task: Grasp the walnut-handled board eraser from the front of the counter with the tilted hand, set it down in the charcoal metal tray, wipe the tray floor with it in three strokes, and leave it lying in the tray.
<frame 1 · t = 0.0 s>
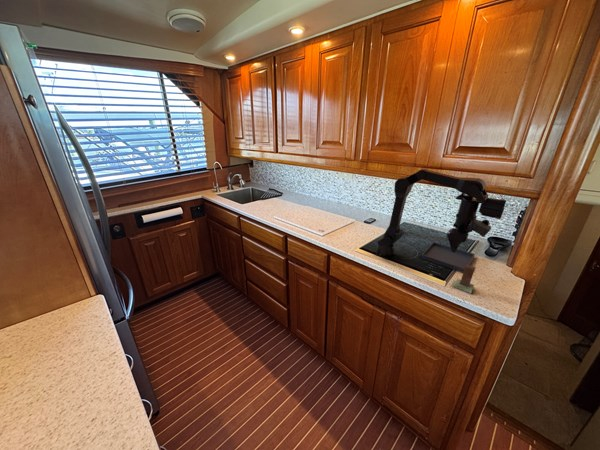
hand: (456, 248, 96), 15 cm above the countertop, tool pointing down, fingers open, 9 cm apart
tray: (447, 257, 118), on the countertop
eraser: (463, 287, 96), on the countertop
cork: (393, 232, 145), on the countertop
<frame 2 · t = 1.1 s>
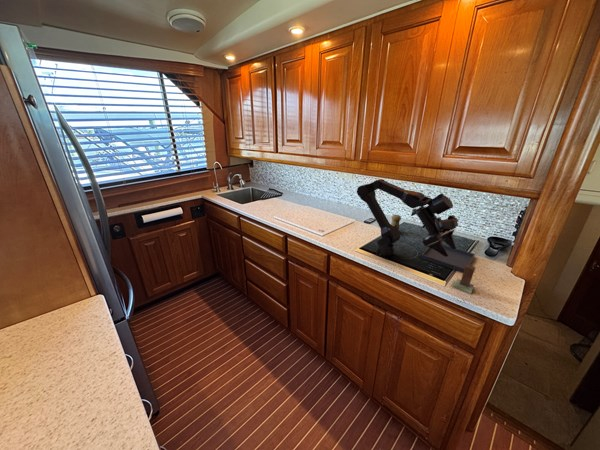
hand: (451, 252, 96), 13 cm above the countertop, tool tilted 45°, fingers open, 9 cm apart
nothing on the countertop moved.
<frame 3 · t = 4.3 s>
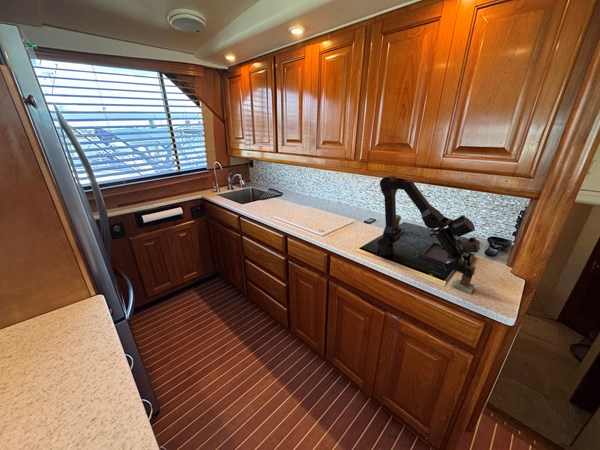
hand: (472, 276, 93), 7 cm above the countertop, tool tilted 45°, fingers closed on eraser, 3 cm apart
eraser: (463, 287, 96), on the countertop, touching gripper
everything else where it was.
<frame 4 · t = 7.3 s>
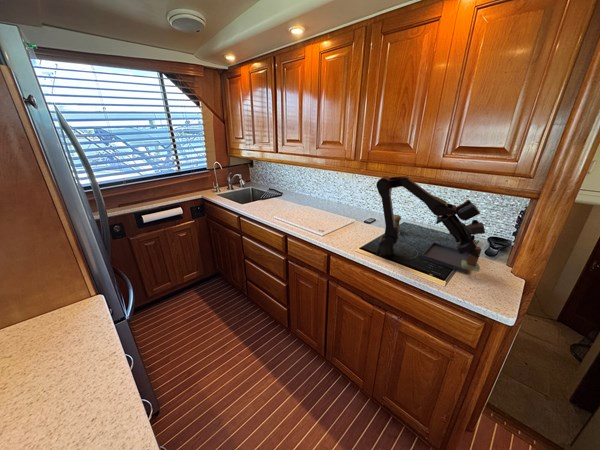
hand: (477, 255, 99), 10 cm above the countertop, tool tilted 45°, fingers closed on eraser, 3 cm apart
eraser: (469, 267, 103), point 4 cm above the countertop, touching gripper
everything else where it was.
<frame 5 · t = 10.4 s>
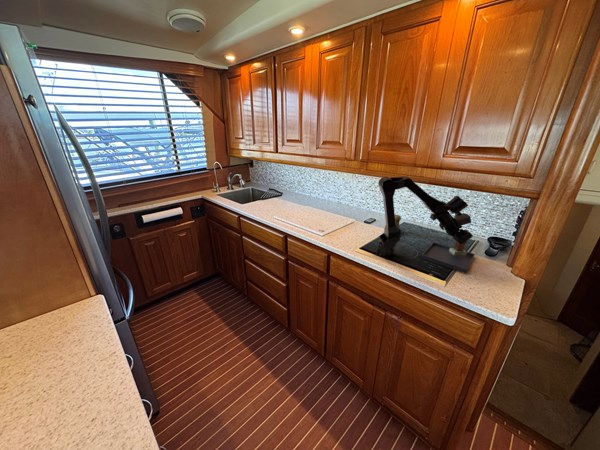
hand: (463, 241, 115), 9 cm above the countertop, tool tilted 45°, fingers closed on eraser, 3 cm apart
eraser: (457, 253, 118), point 2 cm above the countertop, touching gripper
everything else where it was.
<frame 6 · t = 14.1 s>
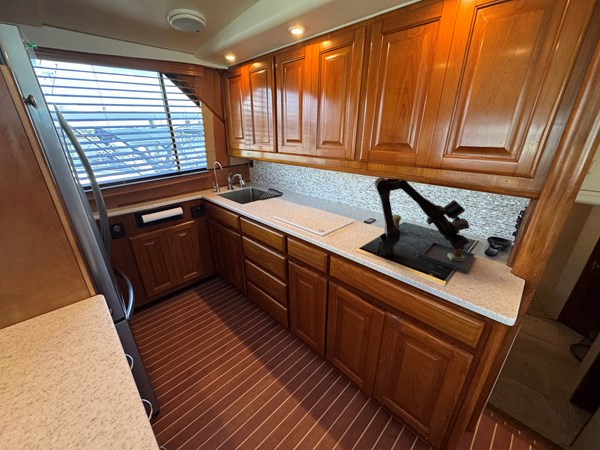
hand: (462, 247, 113), 7 cm above the countertop, tool tilted 45°, fingers closed on eraser, 3 cm apart
eraser: (455, 258, 116), point 1 cm above the countertop, touching gripper
everything else where it was.
when the fingers open (7 cm above the countertop, at t = 16.7 s): eraser stays where it is, resting on tray.
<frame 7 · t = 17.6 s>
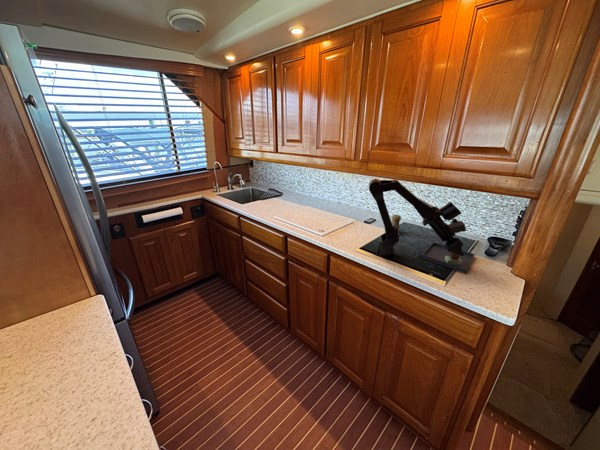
hand: (459, 250, 110), 7 cm above the countertop, tool tilted 45°, fingers open, 9 cm apart
eraser: (452, 262, 113), resting on tray
everything else where it was.
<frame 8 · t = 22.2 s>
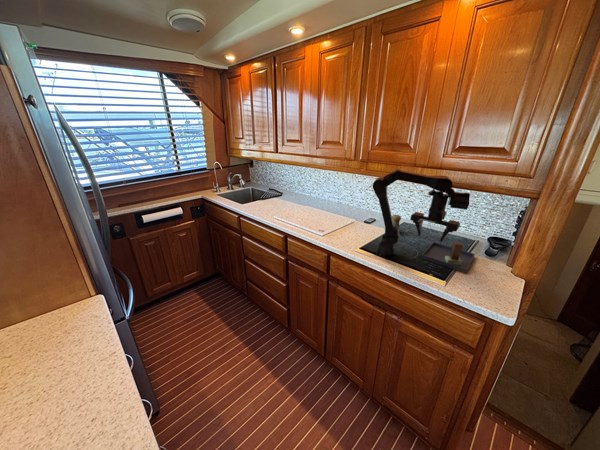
hand: (429, 238, 108), 13 cm above the countertop, tool pointing down, fingers open, 9 cm apart
nothing on the countertop moved.
at the end: eraser inside the target area in the tray (4.8 cm from its centre), point 0.5 cm above the tray's base; eraser tilted 0°; eraser moved 19.9 cm from its start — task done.
